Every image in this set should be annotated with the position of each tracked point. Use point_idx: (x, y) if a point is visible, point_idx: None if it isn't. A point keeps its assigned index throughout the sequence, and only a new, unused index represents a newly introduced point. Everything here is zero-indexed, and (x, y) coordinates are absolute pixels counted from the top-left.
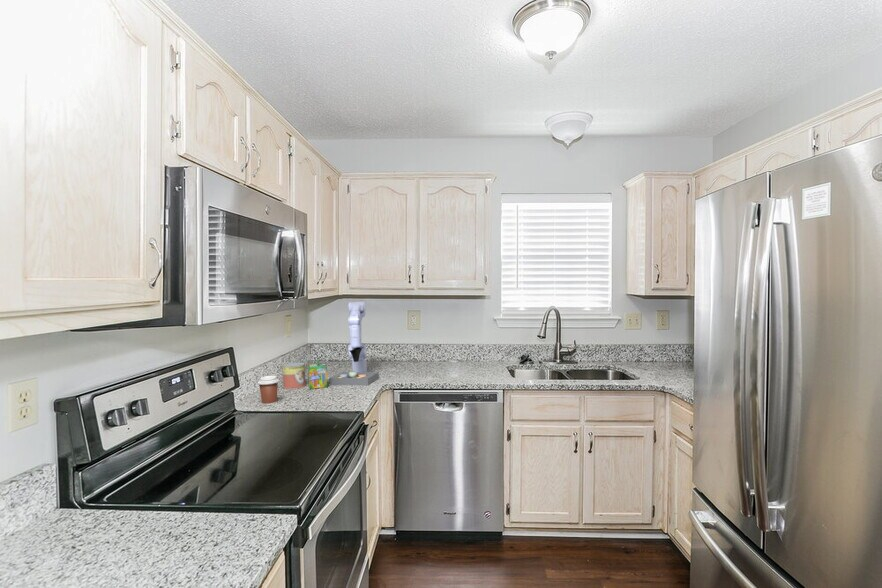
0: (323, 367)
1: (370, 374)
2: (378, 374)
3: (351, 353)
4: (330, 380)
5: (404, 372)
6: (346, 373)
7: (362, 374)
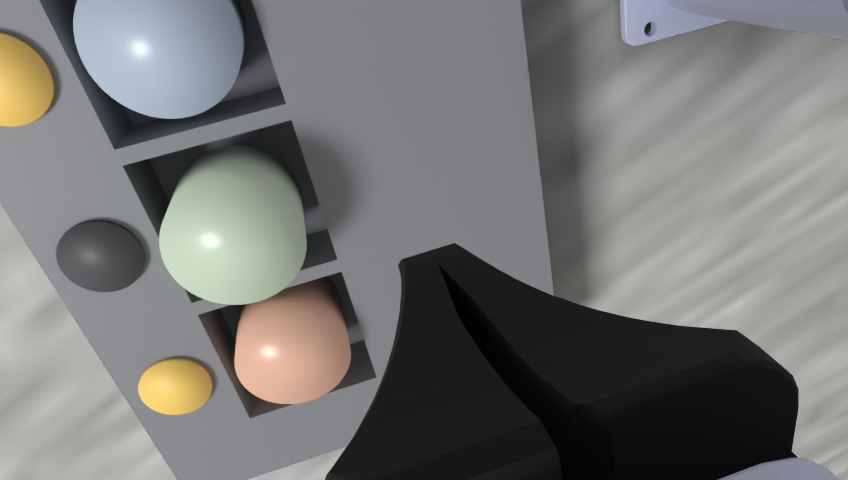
0: None
1: None
2: None
3: (375, 410)
4: None
5: (815, 366)
6: None
7: (312, 348)
